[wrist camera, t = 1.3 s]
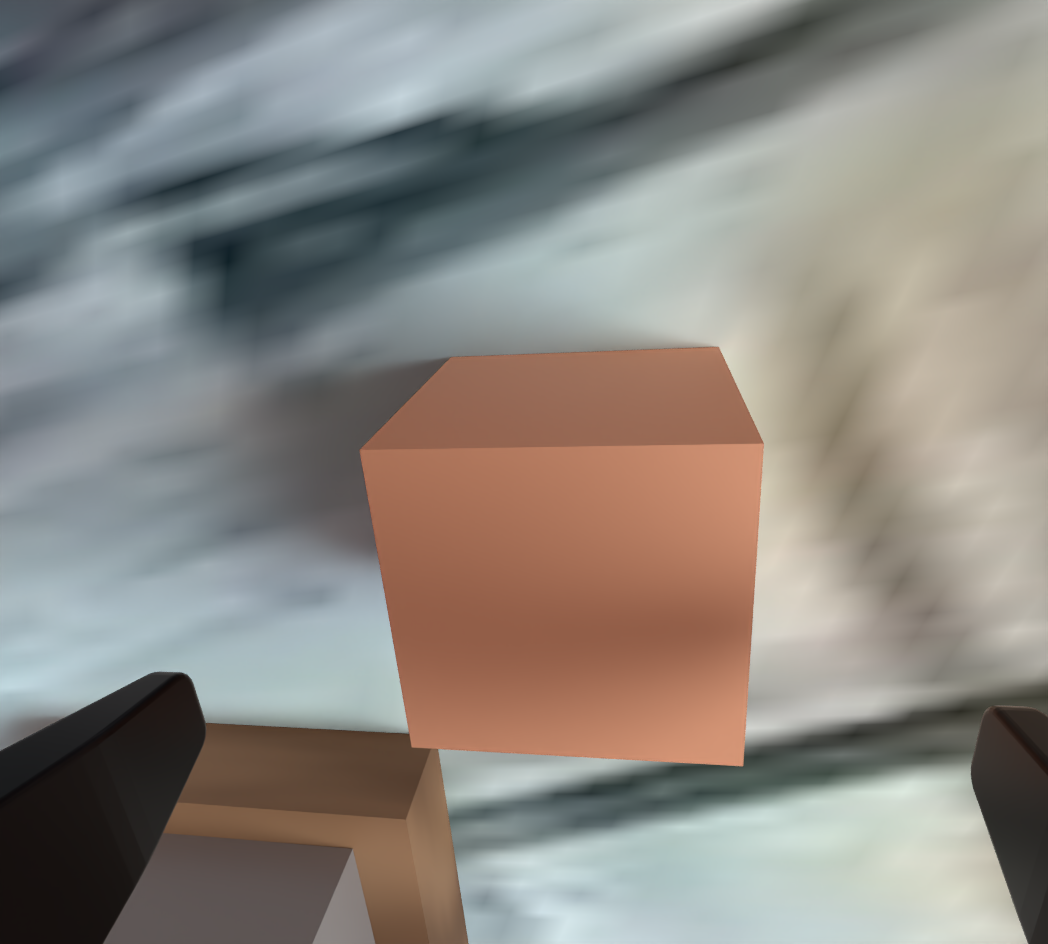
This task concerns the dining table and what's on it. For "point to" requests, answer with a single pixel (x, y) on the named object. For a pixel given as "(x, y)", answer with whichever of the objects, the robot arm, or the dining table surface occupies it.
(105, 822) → the robot arm
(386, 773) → the walnut base block
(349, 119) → the dining table surface
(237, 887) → the gray square block
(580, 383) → the terracotta cube
